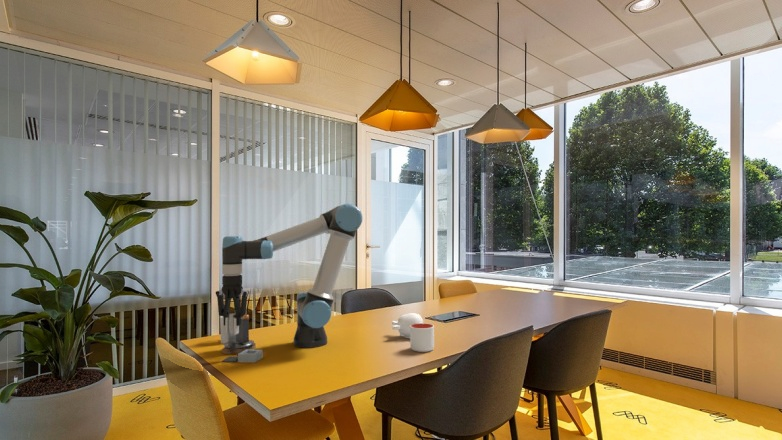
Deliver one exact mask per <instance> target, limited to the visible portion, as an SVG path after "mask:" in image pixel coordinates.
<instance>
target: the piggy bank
mask: <svg viewBox="0 0 782 440" xmlns="http://www.w3.org/2000/svg"><path fill="white" fill-rule="evenodd" d="M420 323H424V320H423V318H422V316H421V315H420V314H418V313H415V312H412V313H411V312H410V313H405V314H403V315H401V316H399V318H398V319H397V321H396V320H391V324H392V330H394V331H395V330H398V332H399V336H400V337H403V338H406V339H410V326H411V325H413V324H420ZM424 324H425V323H424Z"/></svg>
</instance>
